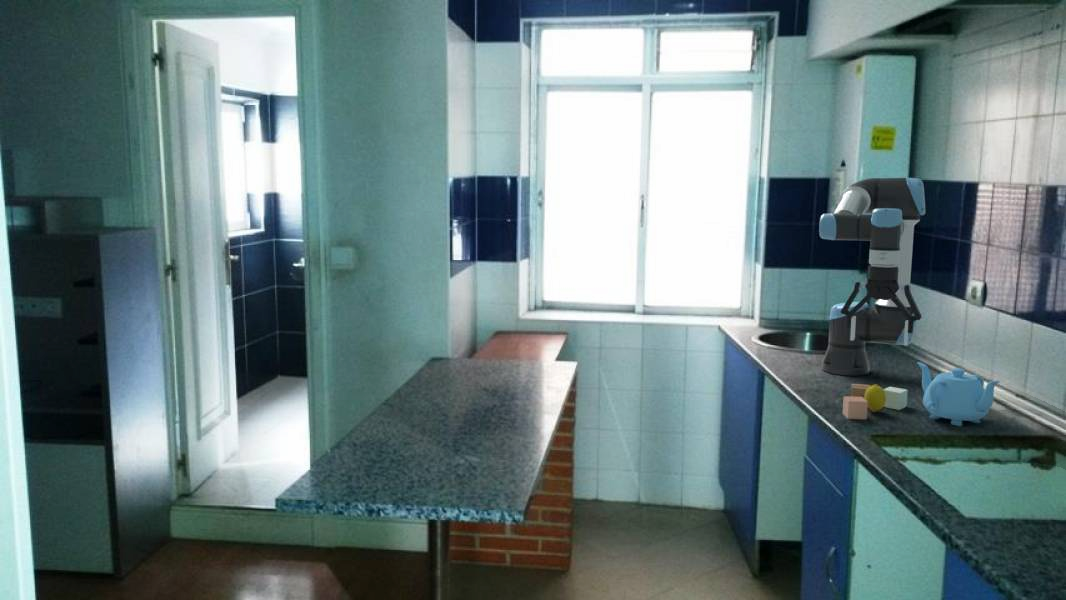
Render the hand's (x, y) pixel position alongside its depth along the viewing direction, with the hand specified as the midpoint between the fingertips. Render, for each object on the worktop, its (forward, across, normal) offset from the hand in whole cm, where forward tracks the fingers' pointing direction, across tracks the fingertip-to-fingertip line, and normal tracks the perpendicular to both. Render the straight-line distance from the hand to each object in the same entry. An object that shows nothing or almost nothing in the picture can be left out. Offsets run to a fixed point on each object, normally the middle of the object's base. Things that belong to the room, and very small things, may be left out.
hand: (878, 342), depth 219 cm
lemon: (+20, 0, 0) cm, 20 cm away
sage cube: (+20, +4, +9) cm, 22 cm away
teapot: (+20, +19, +4) cm, 28 cm away
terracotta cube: (+20, -4, -7) cm, 22 cm away
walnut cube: (+20, -5, +8) cm, 22 cm away
